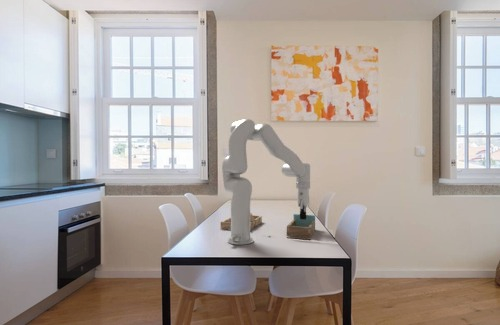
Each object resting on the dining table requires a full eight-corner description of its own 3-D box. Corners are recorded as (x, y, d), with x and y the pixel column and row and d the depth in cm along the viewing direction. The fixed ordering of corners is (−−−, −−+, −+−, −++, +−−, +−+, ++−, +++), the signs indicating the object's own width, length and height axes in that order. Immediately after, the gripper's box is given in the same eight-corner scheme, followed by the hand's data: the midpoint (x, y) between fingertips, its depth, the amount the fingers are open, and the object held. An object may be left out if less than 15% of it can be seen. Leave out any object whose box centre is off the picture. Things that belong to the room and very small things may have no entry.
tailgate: (314, 230, 168) (314, 215, 168) (293, 228, 172) (293, 214, 172) (315, 229, 169) (315, 215, 169) (293, 227, 173) (293, 213, 173)
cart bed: (310, 240, 151) (310, 228, 151) (286, 238, 155) (286, 226, 155) (314, 232, 168) (314, 221, 168) (293, 230, 172) (293, 219, 172)
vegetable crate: (248, 231, 170) (248, 224, 170) (220, 228, 175) (220, 222, 175) (261, 222, 194) (261, 216, 194) (237, 220, 200) (237, 214, 200)
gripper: (307, 187, 158) (307, 222, 158) (312, 184, 172) (311, 217, 172) (293, 186, 160) (293, 221, 161) (298, 184, 174) (298, 216, 175)
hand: (303, 218), depth 166 cm, fingers closed
